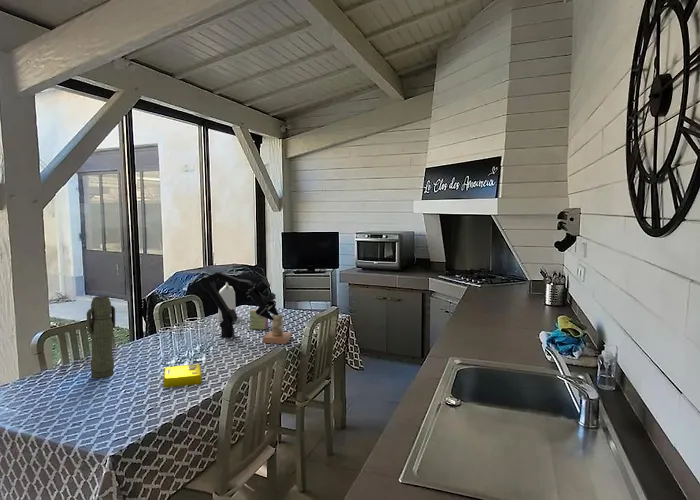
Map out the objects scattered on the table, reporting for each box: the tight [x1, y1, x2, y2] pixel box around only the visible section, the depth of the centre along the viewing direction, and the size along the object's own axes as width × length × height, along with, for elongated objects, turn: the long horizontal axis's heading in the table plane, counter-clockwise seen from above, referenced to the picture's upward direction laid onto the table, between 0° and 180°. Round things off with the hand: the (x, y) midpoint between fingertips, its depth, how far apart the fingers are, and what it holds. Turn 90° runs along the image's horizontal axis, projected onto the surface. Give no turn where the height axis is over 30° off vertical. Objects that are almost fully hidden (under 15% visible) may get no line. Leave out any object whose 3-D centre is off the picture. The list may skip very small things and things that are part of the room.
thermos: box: [86, 295, 116, 380], centre depth 193 cm, size 9×12×35 cm
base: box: [262, 331, 292, 345], centre depth 255 cm, size 13×13×3 cm
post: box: [271, 314, 284, 336], centre depth 254 cm, size 6×6×11 cm
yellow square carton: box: [163, 363, 203, 388], centre depth 191 cm, size 15×15×5 cm
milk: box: [217, 282, 237, 322], centre depth 304 cm, size 12×12×26 cm
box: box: [249, 308, 269, 330], centre depth 280 cm, size 10×6×12 cm, turn 84°
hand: (275, 318), depth 254 cm, fingers open, 9 cm apart
